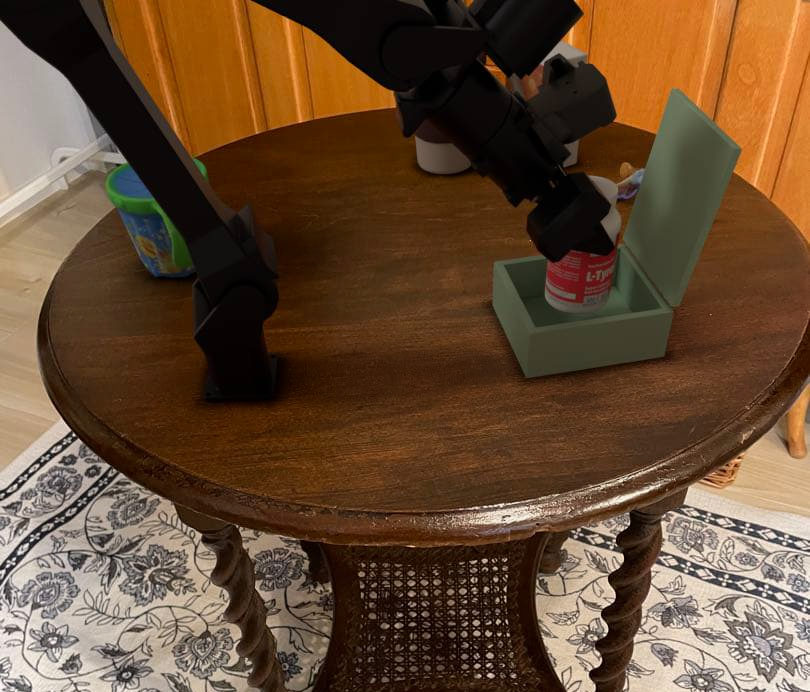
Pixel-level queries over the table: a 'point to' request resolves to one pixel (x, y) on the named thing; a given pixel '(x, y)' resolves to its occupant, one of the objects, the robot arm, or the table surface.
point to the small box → (531, 83)
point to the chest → (580, 318)
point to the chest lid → (679, 194)
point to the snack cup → (150, 224)
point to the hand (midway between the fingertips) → (598, 233)
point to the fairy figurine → (630, 178)
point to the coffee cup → (440, 147)
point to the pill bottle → (586, 267)
